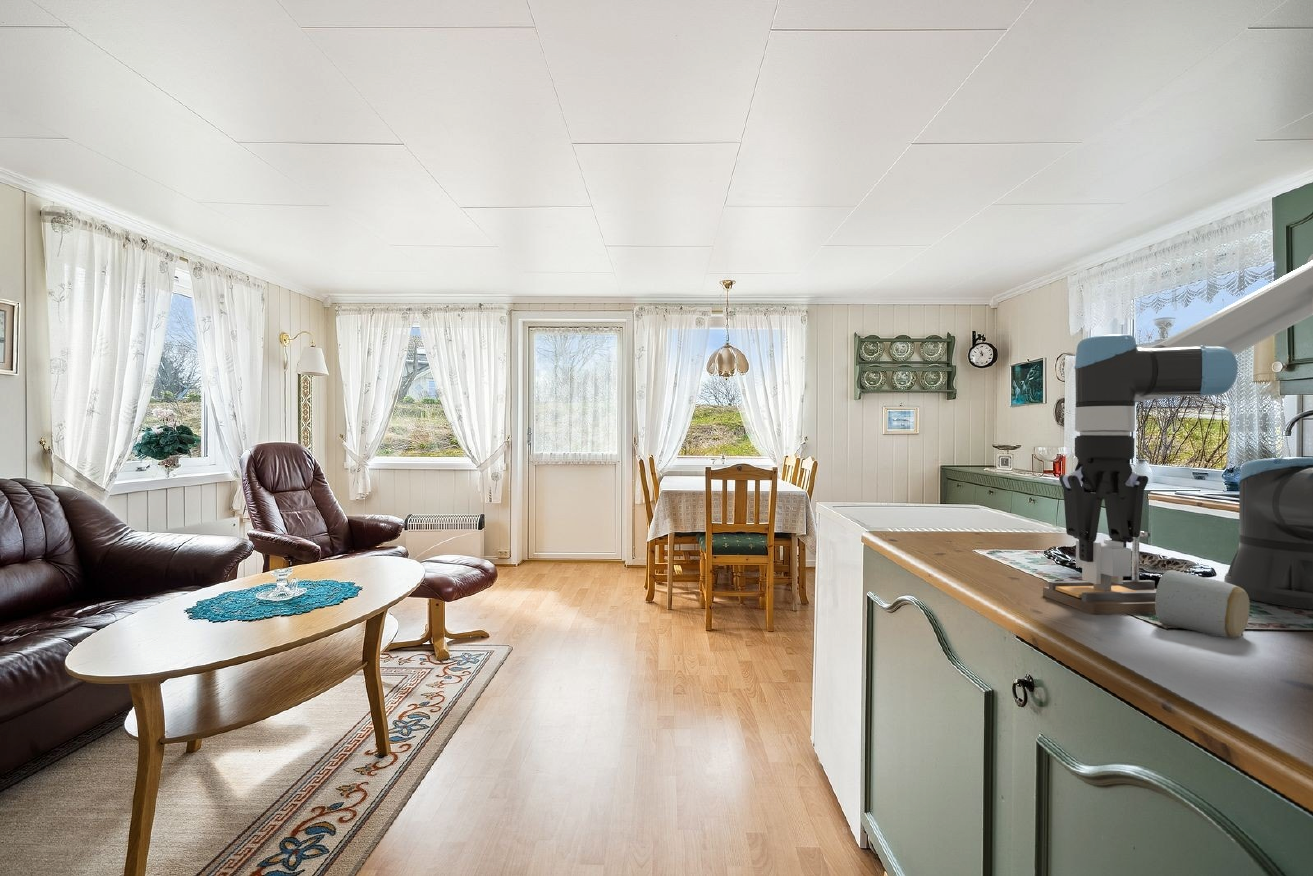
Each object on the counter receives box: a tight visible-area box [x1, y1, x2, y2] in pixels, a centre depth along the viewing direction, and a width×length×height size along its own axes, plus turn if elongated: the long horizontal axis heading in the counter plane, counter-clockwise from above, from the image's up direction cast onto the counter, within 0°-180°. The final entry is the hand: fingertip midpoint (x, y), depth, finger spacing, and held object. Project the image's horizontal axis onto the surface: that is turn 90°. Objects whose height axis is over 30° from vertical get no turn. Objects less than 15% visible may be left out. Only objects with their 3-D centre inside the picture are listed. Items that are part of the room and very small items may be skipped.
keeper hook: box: [1131, 530, 1151, 580], centre depth 96 cm, size 2×3×10 cm
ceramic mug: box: [1155, 569, 1251, 639], centre depth 80 cm, size 11×8×8 cm
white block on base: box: [1056, 540, 1139, 598], centre depth 92 cm, size 11×7×8 cm, turn 95°
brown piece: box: [1042, 579, 1157, 615], centre depth 92 cm, size 18×10×3 cm, turn 95°
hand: (1102, 581), depth 92 cm, fingers closed on white block on base, 3 cm apart
